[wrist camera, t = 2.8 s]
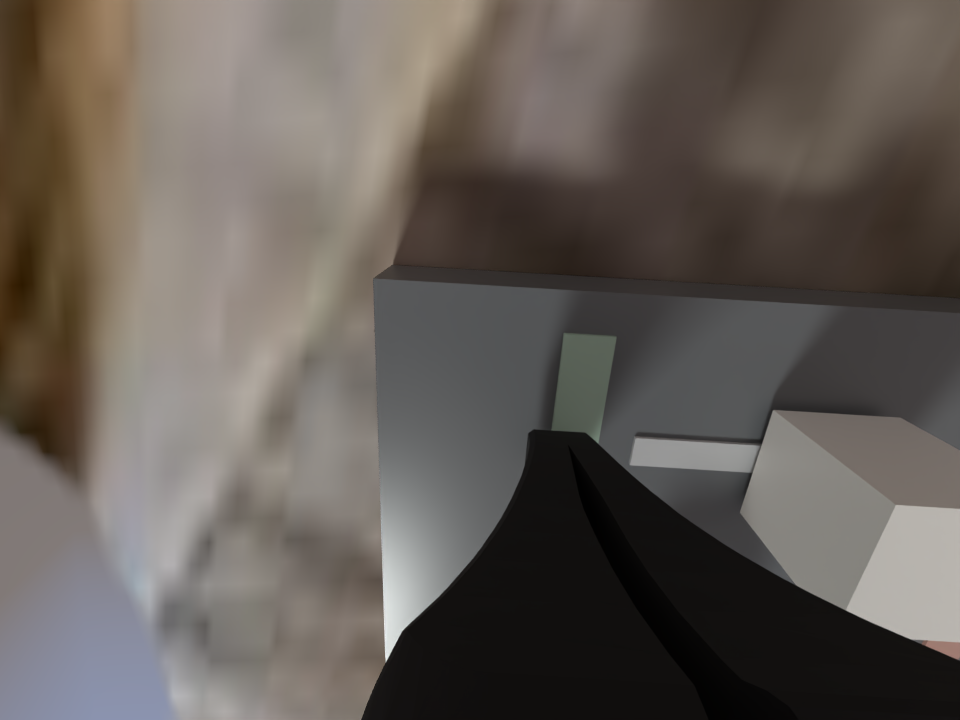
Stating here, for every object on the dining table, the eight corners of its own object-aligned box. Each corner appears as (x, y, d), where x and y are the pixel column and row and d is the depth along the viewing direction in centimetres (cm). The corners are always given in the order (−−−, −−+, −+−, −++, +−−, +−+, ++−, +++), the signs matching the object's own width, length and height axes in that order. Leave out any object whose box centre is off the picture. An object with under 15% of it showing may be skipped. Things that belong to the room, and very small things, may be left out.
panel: (1071, 305, 12) (1188, 327, 10) (806, 791, 19) (841, 858, 18) (391, 265, 12) (372, 279, 10) (400, 764, 20) (390, 828, 18)
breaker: (900, 417, 10) (1079, 516, 7) (855, 519, 11) (993, 644, 8) (773, 409, 10) (895, 505, 7) (739, 512, 12) (834, 634, 8)
